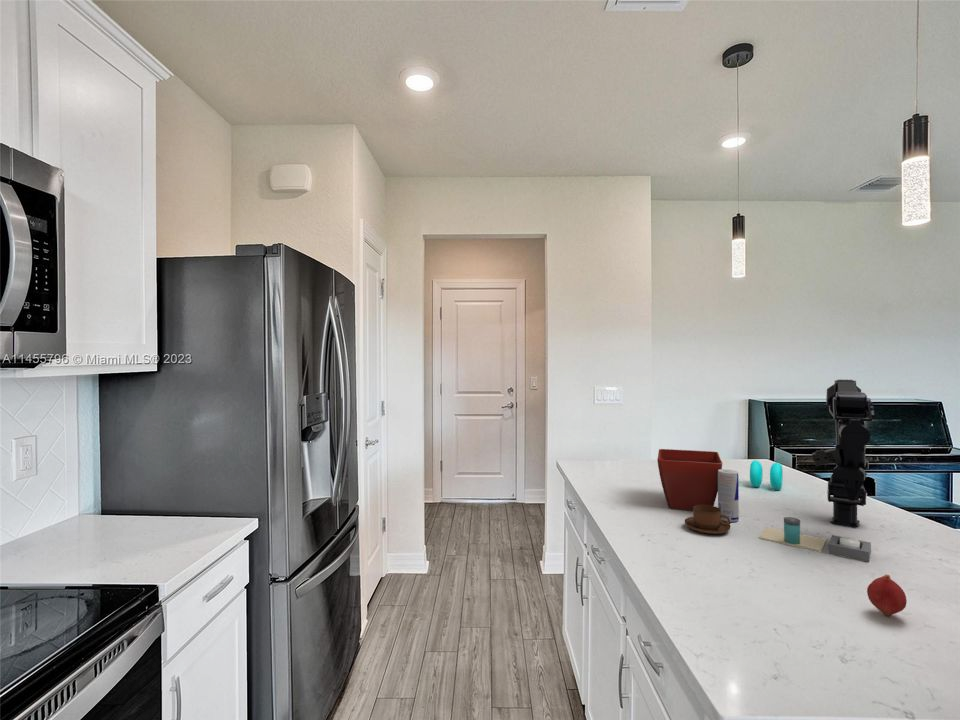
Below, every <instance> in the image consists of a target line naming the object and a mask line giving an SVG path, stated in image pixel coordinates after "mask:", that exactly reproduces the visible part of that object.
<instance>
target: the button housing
mask: <svg viewBox="0 0 960 720" xmlns="http://www.w3.org/2000/svg"><path fill="white" fill-rule="evenodd" d="M842 537H843V536H840V535H839V536H838V535H833V534H832V535H831V536H830V539H829V541H828V543H827V548H828V554H830V555H834V556H839V557H844V558H847V559H853V560H855V561H856V560H858V561H861V562H862V561H863V562H865V563H866V562H867V563H870V559H871V554H872V553H871V552H872V542H869V541H866V540H865V541H864V540H859V539H857V540H858V541H859V542H860V548H855V547H850V546H845V545H840V538H842Z"/></svg>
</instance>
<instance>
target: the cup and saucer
mask: <svg viewBox="0 0 960 720" xmlns="http://www.w3.org/2000/svg"><path fill="white" fill-rule="evenodd" d="M692 515H693V516H690V517H687V518H685V519H684V524H685V525H686V527H688V528H689V529H691V530H693V531H695V532H699V533H702V534H703V533H704V534H709V535H719V534H720V535H721V534H725V533H727V532H728V531H730V530H731V522H730V519H729V517H727V516H726V515H721V509H719V508H718V506H715V505H714V506H709V505H696V506H694V507H693V511H692ZM722 517H724V518H726V519H727V520H728V522H726V521H723V520H721V518H722Z"/></svg>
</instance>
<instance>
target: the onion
mask: <svg viewBox="0 0 960 720" xmlns="http://www.w3.org/2000/svg"><path fill="white" fill-rule="evenodd" d="M866 588H867V589H866V593H867V597H868V598H867V599H868V600H869V601H870V603H871V604H872V605H873V607H874V608H875V609H877V610H878V611H879V612H881V613H882V614H883V615H884V616H885V617H891V616H893V615H895V614H897V613H901V612H902V611H904V609H906V607H907V596H906V593H905V591H904V589H902V587H901V586H900V585H899V584H898V583H897V582H896V581H894V580H893V579H892V578H891V575H890V574H886V573H885V574H884V575H883V576H880V577H878V578H875V579H874V580H872V581H871V583H869V584H868V586H867V587H866Z"/></svg>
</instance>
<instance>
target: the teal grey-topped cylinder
mask: <svg viewBox="0 0 960 720" xmlns="http://www.w3.org/2000/svg"><path fill="white" fill-rule="evenodd" d="M783 530H784V541H785V542H787V543H790V544H800V534H801V520H800V519H799V518H797V517H792V516H784V517H783Z"/></svg>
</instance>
